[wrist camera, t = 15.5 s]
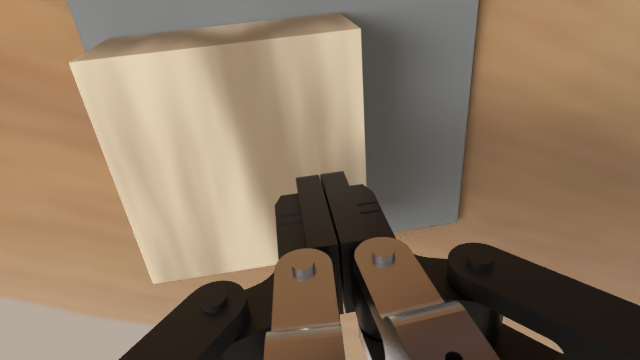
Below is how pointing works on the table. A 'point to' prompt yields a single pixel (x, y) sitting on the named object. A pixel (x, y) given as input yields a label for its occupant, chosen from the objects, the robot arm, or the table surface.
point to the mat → (378, 83)
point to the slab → (223, 132)
